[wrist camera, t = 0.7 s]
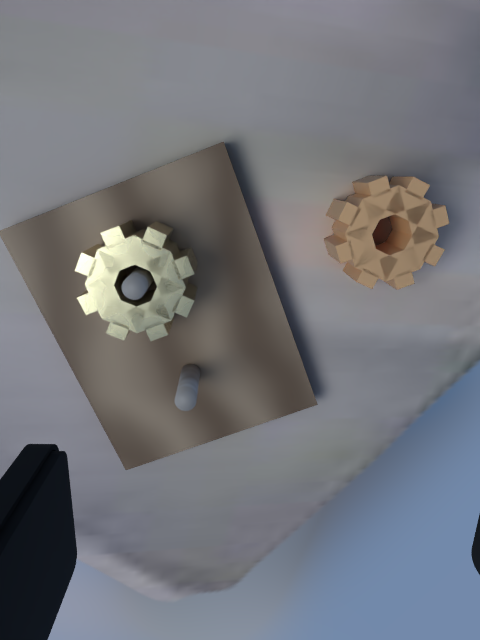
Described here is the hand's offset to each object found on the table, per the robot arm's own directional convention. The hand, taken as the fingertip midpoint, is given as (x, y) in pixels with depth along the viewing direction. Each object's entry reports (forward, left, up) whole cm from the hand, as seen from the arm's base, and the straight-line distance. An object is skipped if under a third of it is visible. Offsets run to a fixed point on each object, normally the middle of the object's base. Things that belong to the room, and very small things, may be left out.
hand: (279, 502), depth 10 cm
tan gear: (-10, 0, -24) cm, 26 cm away
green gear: (+6, -3, -22) cm, 23 cm away
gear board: (+6, +1, -24) cm, 25 cm away
